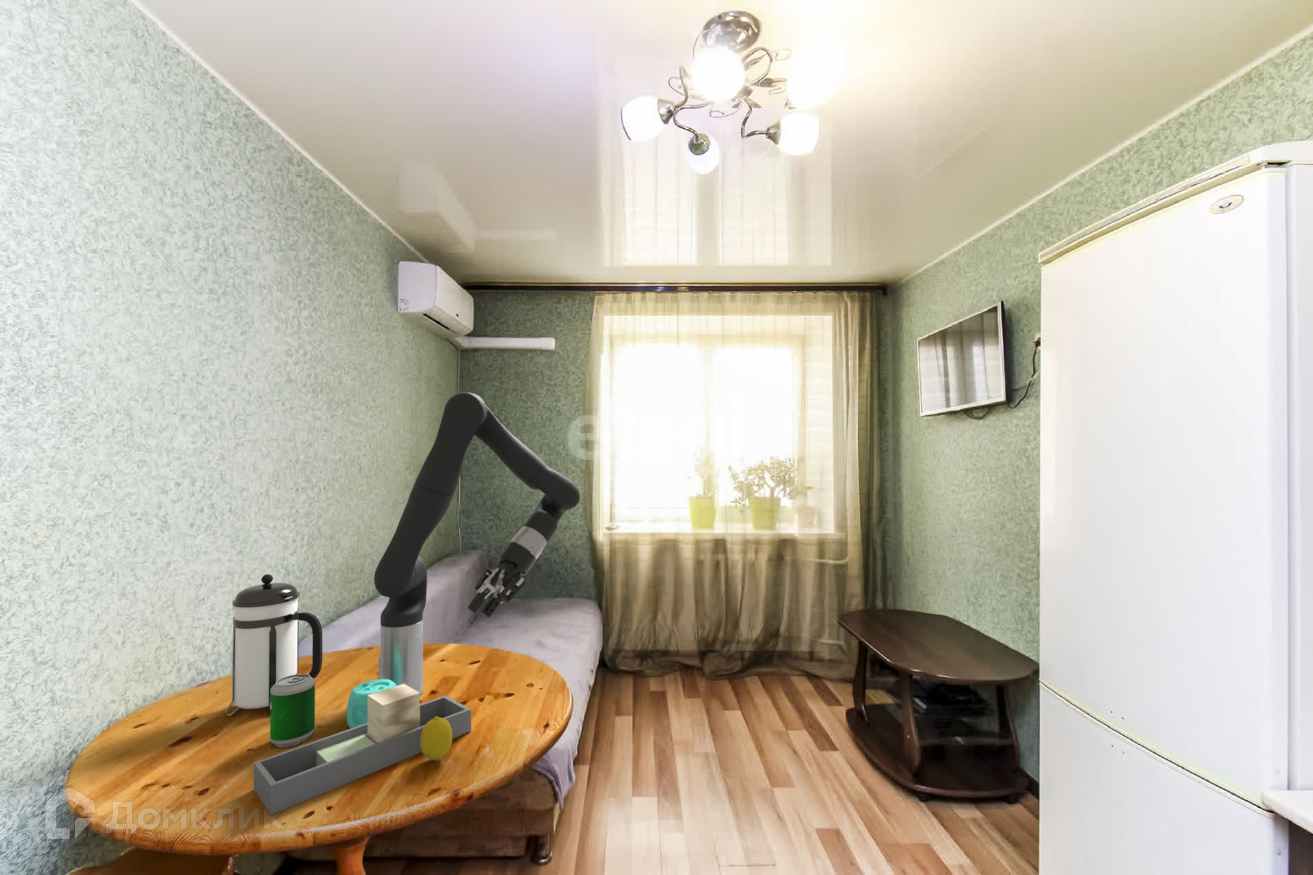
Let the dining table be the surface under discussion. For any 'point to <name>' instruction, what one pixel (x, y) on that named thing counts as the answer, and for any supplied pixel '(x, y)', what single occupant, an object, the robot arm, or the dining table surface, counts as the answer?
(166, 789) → the dining table surface
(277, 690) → the soda can
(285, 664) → the coffee press
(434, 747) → the lemon
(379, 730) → the ash block
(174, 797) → the dining table surface
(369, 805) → the dining table surface
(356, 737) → the tray
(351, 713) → the decorative dice
